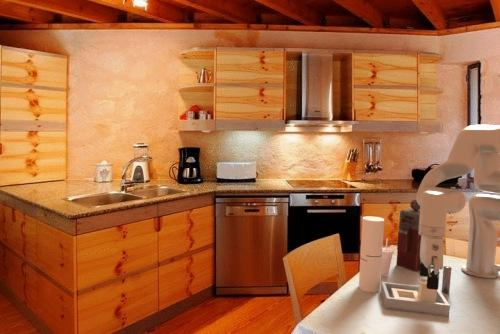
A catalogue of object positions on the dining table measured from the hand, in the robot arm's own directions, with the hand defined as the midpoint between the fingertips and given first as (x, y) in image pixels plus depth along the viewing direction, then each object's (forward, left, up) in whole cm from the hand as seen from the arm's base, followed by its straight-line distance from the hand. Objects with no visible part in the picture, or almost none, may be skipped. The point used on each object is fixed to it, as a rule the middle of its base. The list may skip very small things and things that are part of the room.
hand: (428, 282), depth 118 cm
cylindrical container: (+17, -8, -8) cm, 20 cm away
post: (-9, -12, -7) cm, 16 cm away
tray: (+4, 0, -7) cm, 9 cm away
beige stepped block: (+4, 0, -7) cm, 8 cm away
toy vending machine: (-2, -35, -8) cm, 35 cm away
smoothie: (+10, -24, -8) cm, 27 cm away
